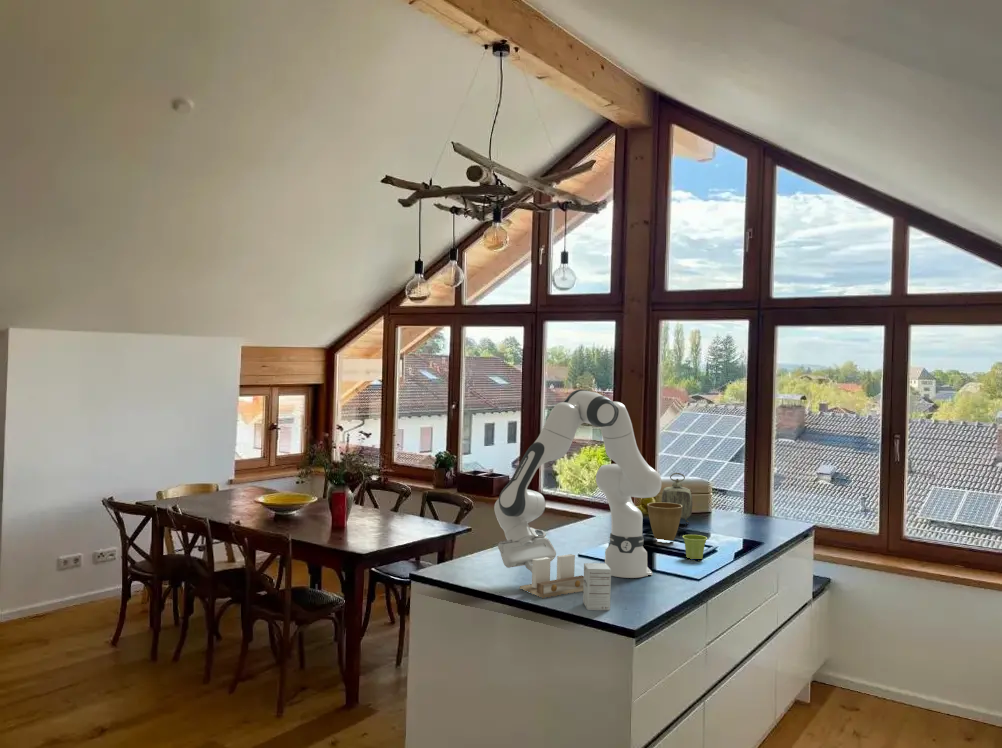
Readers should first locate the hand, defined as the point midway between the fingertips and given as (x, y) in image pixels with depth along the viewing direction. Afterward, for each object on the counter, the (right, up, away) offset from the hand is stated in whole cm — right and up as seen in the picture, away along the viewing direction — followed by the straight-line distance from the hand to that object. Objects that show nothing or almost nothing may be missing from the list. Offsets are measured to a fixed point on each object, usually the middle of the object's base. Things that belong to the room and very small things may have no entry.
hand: (538, 574), depth 260 cm
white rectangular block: (+1, -4, -1) cm, 4 cm away
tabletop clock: (+73, -7, +123) cm, 144 cm away
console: (+5, -5, +1) cm, 8 cm away
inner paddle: (+9, -4, +4) cm, 11 cm away
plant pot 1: (+58, -7, +82) cm, 101 cm away
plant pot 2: (+64, -7, +51) cm, 82 cm away
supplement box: (+17, -6, -17) cm, 25 cm away
